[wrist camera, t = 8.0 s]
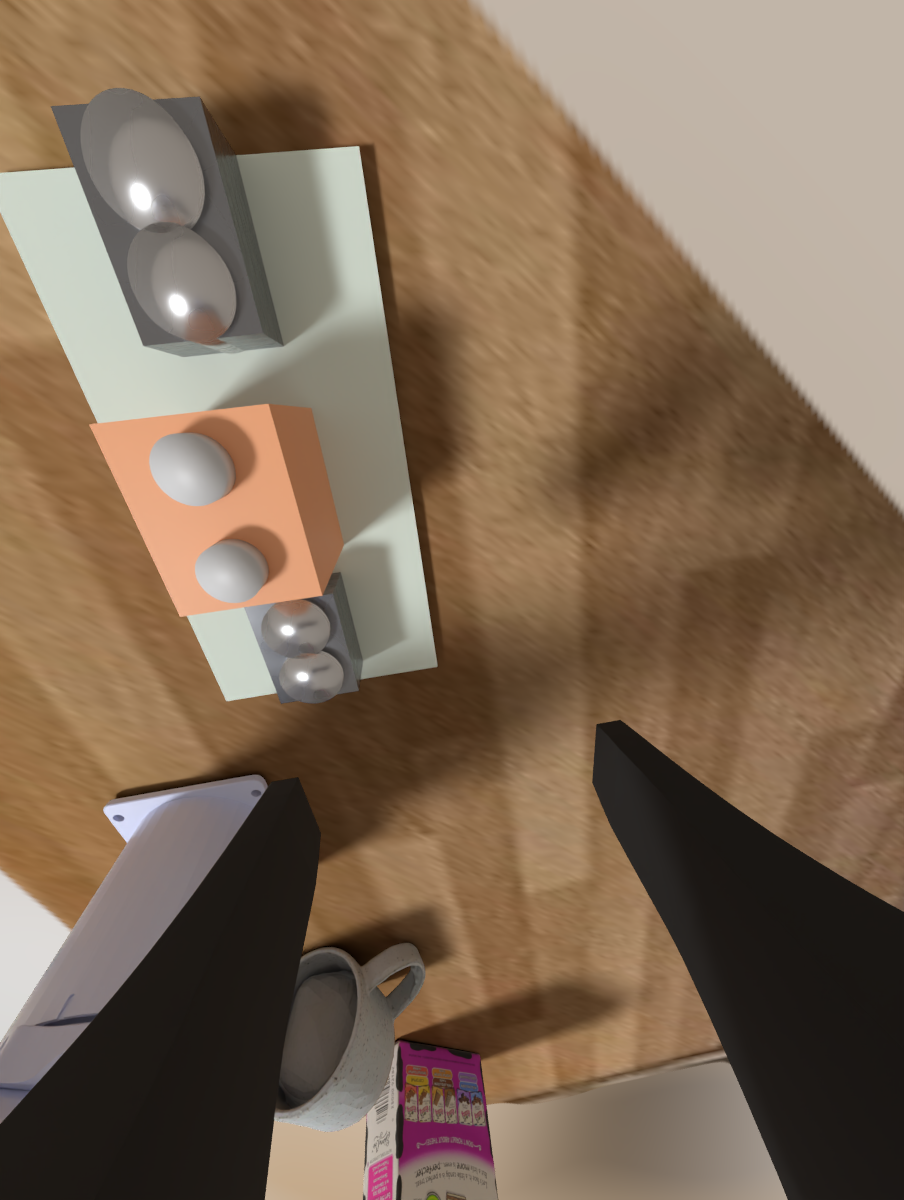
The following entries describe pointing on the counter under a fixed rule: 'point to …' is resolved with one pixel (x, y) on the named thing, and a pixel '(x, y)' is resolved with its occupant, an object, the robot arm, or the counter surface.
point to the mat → (261, 377)
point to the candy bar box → (430, 1129)
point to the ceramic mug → (342, 1035)
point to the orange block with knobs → (229, 503)
